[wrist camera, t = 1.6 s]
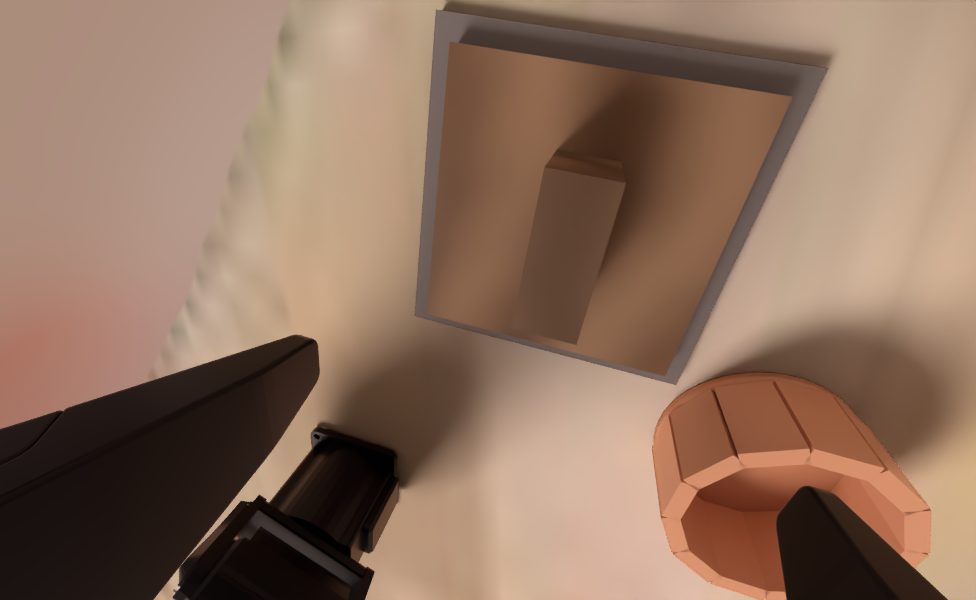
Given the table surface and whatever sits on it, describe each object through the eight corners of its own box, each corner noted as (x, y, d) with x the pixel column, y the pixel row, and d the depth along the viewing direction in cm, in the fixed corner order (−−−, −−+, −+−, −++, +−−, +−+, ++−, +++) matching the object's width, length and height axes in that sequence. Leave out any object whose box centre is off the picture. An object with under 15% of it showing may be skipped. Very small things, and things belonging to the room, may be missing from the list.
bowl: (630, 477, 25) (636, 559, 21) (691, 350, 20) (715, 421, 16) (800, 528, 24) (843, 627, 19) (907, 404, 19) (995, 498, 15)
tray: (419, 311, 23) (414, 316, 23) (441, 11, 16) (435, 9, 16) (674, 377, 21) (676, 385, 21) (819, 68, 14) (828, 68, 14)
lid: (433, 304, 22) (392, 358, 18) (457, 43, 16) (405, 29, 12) (662, 364, 20) (678, 438, 16) (782, 96, 15) (856, 101, 10)
